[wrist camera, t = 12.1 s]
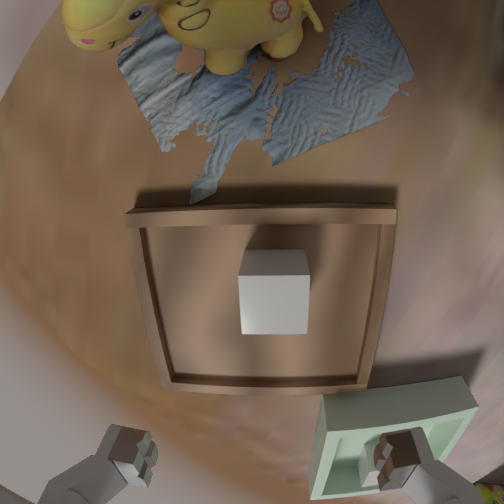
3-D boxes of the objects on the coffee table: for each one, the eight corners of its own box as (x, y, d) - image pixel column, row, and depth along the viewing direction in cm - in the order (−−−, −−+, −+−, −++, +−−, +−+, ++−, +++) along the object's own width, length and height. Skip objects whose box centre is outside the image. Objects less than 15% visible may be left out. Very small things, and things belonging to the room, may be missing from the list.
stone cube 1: (396, 439, 29) (404, 466, 25) (387, 456, 30) (393, 482, 26) (364, 443, 29) (369, 471, 25) (357, 461, 30) (361, 487, 27)
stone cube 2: (304, 249, 21) (310, 275, 18) (302, 301, 23) (307, 334, 19) (244, 249, 22) (237, 275, 18) (247, 301, 23) (241, 334, 19)
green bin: (461, 375, 26) (478, 406, 21) (419, 454, 31) (427, 482, 27) (322, 392, 27) (327, 431, 23) (308, 468, 33) (309, 499, 28)
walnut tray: (389, 203, 20) (397, 209, 19) (362, 379, 26) (365, 391, 25) (133, 208, 22) (124, 213, 20) (167, 377, 28) (162, 388, 26)
